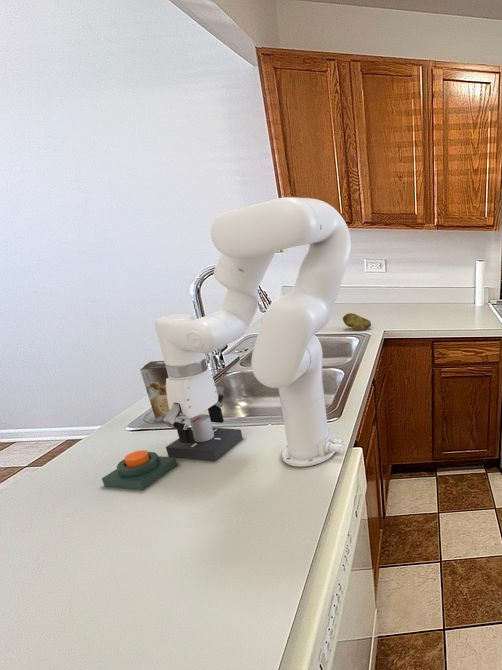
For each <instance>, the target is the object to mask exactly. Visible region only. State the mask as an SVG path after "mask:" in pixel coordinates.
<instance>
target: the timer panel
mask: <svg viewBox="0 0 502 670" xmlns="http://www.w3.org/2000/svg"><path fill="white" fill-rule="evenodd" d="M212 428H213V432H214V437H213V438H212V439H210V440H208V441H204V442H197V441H195V442H194V443H192V444H190V443H181V442H180V439H179V438H177V439H176V440H174V441H173V442H171V443H170V444H168V445H167V446H165V449H166V453H167V457H173V458H175V459H180V460H181V459H182V460H192V461H194V460H195V461H202V462H203V461H204V462H213V463H214V462H217V461H218V460H219V459H221V458H222V457H223V456H225V455H226V454H227V453H228V452H229V451H230V450H232V449H233V448H235V446H237V445H238V444H239V443H240V442H242V441H243V433H242V429H238V428H237V429H236V428H227V427H216V426H215V427H214V426H212ZM192 432H193V430H192ZM193 436H194V434H193ZM194 440H195V438H194Z"/></svg>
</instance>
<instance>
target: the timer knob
mask: <svg viewBox="0 0 502 670" xmlns="http://www.w3.org/2000/svg"><path fill="white" fill-rule="evenodd" d="M190 426H191V427H190V428H191V429H192V430H193V434H194V438H195V441H197V442H204V441H208V440H210V439H212V438H213V437H214V432H213V428H212V427H213V424H212V422H211V420H210V416H209V414H199V415H197V416H195V417H194V418H191V421H190Z"/></svg>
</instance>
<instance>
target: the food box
mask: <svg viewBox="0 0 502 670" xmlns="http://www.w3.org/2000/svg"><path fill="white" fill-rule="evenodd" d="M139 371H140V374H141V377H142V380H143V383H144V387H145V390H146V393H147V396H148V399H149V402H150V406H151V409H152V413H153V415H154V419H155V422H156V423H158V422H159V423H160V422H161V423H162V422H164V421H163V419H164V417H165V416H166V415H167V413H168V412H169V411H170V410H169V406H168V401H167V394H166V379H167V378H169V376H168V373H167V369H166V365H165V361H164V360H155V361H152V360H151V361H149V362H147V363H146V364H145V365H144V366H143V367H142V368H140V369H139ZM183 415H184V414H183ZM184 416H186V415H184ZM175 420H176V418H175Z"/></svg>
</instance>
